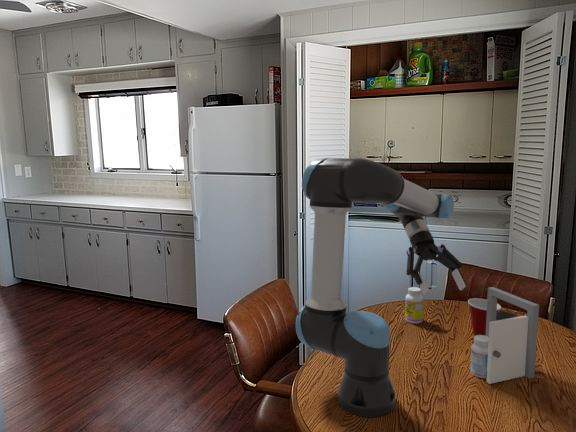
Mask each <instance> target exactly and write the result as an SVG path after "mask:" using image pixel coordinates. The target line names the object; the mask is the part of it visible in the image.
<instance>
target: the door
mask: <svg viewBox="0 0 576 432" xmlns="http://www.w3.org/2000/svg"><path fill="white" fill-rule="evenodd" d="M527 333H528V317H527V315H519V316H517V317H514V318H508V319H503V320H497V321H492V322H489V342H488V362H487V378H486V383H488V384H489V385H491V384H495V383H499V382H503V381H504V382H505V381H508V380H513V379H517V378H522V377H525V364H526V348H527Z"/></svg>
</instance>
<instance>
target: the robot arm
mask: <svg viewBox="0 0 576 432" xmlns="http://www.w3.org/2000/svg"><path fill="white" fill-rule="evenodd" d="M301 188H302V189H301V190H302V192H304V193H303V195H304V196H305V197H306V198H307V199H308V200H309V208H310V209H312V211H313V212H314V219H313V220H314V222H313V223H314V224H313V226H314V227H313V240H312V241H313V244H312V262H311V263H312V266H311V267H312V268H311V285H310V286H311V289H310V297H308V298H307V300H305V302H304V303H305V305H303V306H302V307H301V308H300V309H299V311H298V314H297V315H296V317H295V333H296V335H297V338H298V340H299V341H300V342H301V343H302V345H305V346H306V347H309V348H310V349H312V350H314V351H319V352H321V353H324V354H328V355H331V356H333V357H337V358H340V359H342V360H343V361H344V373H343V376H342V379H341V382H340V384H339V387H338V392H337V396H338V397H337V400H338V403H339V406H340V407H341V408H343V410H345V411H346V412H348V413H351V414H353V415H356V416H360V417H365V418H366V417H367V418H375V417H381V416H385V415H387V414H389V413H391V412H392V411H393V410H394V409H395V406H396V393H395V388H394V386H393V383H392V380H391V377H390V342H391V335H390V327H389V324H388V323H387V321H386V320H385V319H384V318H383V317H382V316H380V315H379V314H376V313H374V312H371V311H366V310H363V311H361V310H354V311H353V310H352V311H349V312H348V313H347V304H346V302H344V300H343V299H342V294H343V273H344V272H343V271H344V259H345V258H344V255H345V239H346V238H345V236H346V220H347V218H346V217H347V214H348V212H349V211H351V210H352V208H353V207H352V206H353V203H365V204H366V203H376V204H382V205H383V206H384V207H385V208H386V210H387V211H389V212H390V213H392V214H393V215H394V216H395V217H397V218H398V219H399V220H400V222H401V224H402V227H403V228H404V232H405V233H406V235H407V237H408V239H409V243H410V245H411V246H409V247H408V249H407V250H406V255H407V259H406V260H407V261H406V262H407V263H406V276H410V277H411V278H412V279H414V281H415V283H416V285H417V286H419V288H420V289H421V293H422V294H423V295H422V296H426V295H427V294H428V293H429V291H430V289H429V287H428V284H427V282H426V280H425V278H424V275H423V272H420V270H421V267H422V265H423V261H433V260H434V261H435V262H439V264H441V265H443V266H444V267H446V268H448V269H449V270H450V271H451V275H452V277H453V279H454V281H455V283H456V286H457V287H458V289H459V291H463V290H464V289H465V288H466V287H467V285H466V283H465V281H464V279H463V278H464V277H463V275H462V272H461V268H462V267H464V264H463V263H462V262H461V261H460V260H458V258H456V256H454V254H452V253H451V252H450V251H449V249H448V248H447V247H446V246H445V244H443V243H441V244H440V245H439V246H437V245H436V244H435V239H434V237H433V235H432V233H431V231H430V228H429V226H428V225H427V222H426V220H425V218H426V217H428V218H435V219H436V218H438V219H449V218H450V217H451V216H452V215H453V212H454V209H455V206H454V205H455V203H454V199H453V196H451V195H450V194H444V193H441V194H438V193H435V192H433V191H430V190H428V189H426V188H424V187H422V186H420V185H418V184H416V183H414V182H412V181H409V180H407V179H406V178H404V177H403V175H402V173H400V172H399V171H398V170H396V169H393V168H391V167H389V166H387V165H384V164H383V163H379V162H376V161H374V160H371V159H366V158H360V157H359V158H357V157H356V158H355V157H354V158H340V157H326V158H325V157H324V158H317V159H315V160H313V161H311V162H310V163H309V165H307V166H306V168H305V169H304V172H303V175H302V179H301ZM424 217H425V218H424ZM415 255H416V256H418V257H417V259H416V263H415V264H414V261H415ZM414 265H415V266H414Z"/></svg>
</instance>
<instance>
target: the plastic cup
mask: <svg viewBox="0 0 576 432" xmlns="http://www.w3.org/2000/svg"><path fill="white" fill-rule="evenodd" d="M467 303H468V306H469V313H470V321H471V322H470V323H471V327H472V333H473V336H476V335H485V336H486V317H487V299H484V298H477V297H476V298H469V299H468V300H467ZM501 309H502V306H501V305H500V304H499V303H498V302H497V313H496V316H497V314H498V311H499V310H501Z"/></svg>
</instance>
